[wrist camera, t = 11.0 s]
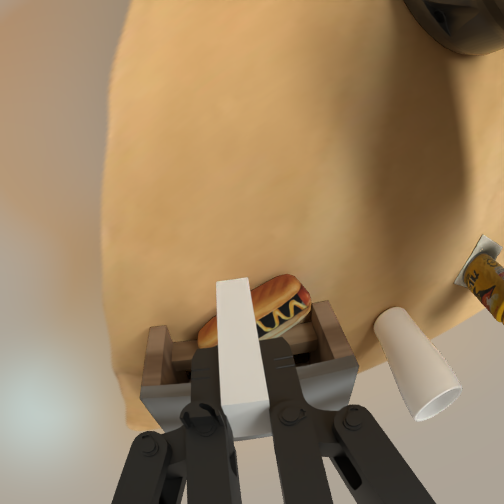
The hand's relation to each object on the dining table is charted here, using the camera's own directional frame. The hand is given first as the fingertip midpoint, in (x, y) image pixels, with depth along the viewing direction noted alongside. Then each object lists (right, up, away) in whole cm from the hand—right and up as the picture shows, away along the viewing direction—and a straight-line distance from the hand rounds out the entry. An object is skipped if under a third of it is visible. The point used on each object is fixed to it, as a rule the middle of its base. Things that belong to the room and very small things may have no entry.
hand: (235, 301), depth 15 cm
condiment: (+35, +1, +22) cm, 41 cm away
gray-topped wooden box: (0, -10, +22) cm, 25 cm away
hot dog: (+1, -3, +19) cm, 19 cm away
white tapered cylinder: (+20, -7, +24) cm, 32 cm away
